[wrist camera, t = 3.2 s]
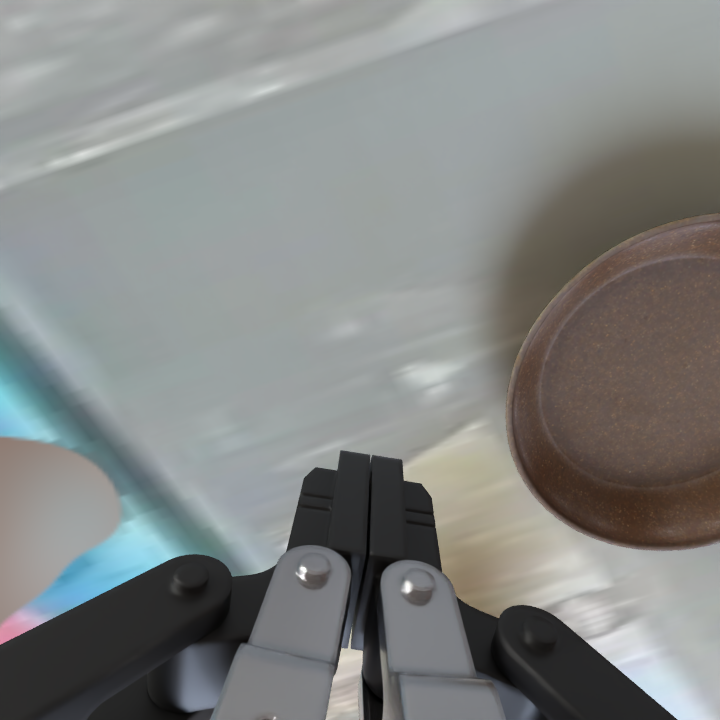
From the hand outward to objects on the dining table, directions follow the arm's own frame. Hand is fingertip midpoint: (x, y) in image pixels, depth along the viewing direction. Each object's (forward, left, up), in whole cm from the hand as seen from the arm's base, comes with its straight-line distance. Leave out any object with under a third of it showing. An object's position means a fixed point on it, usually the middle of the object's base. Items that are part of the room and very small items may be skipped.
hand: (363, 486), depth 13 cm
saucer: (0, +13, -12) cm, 18 cm away
